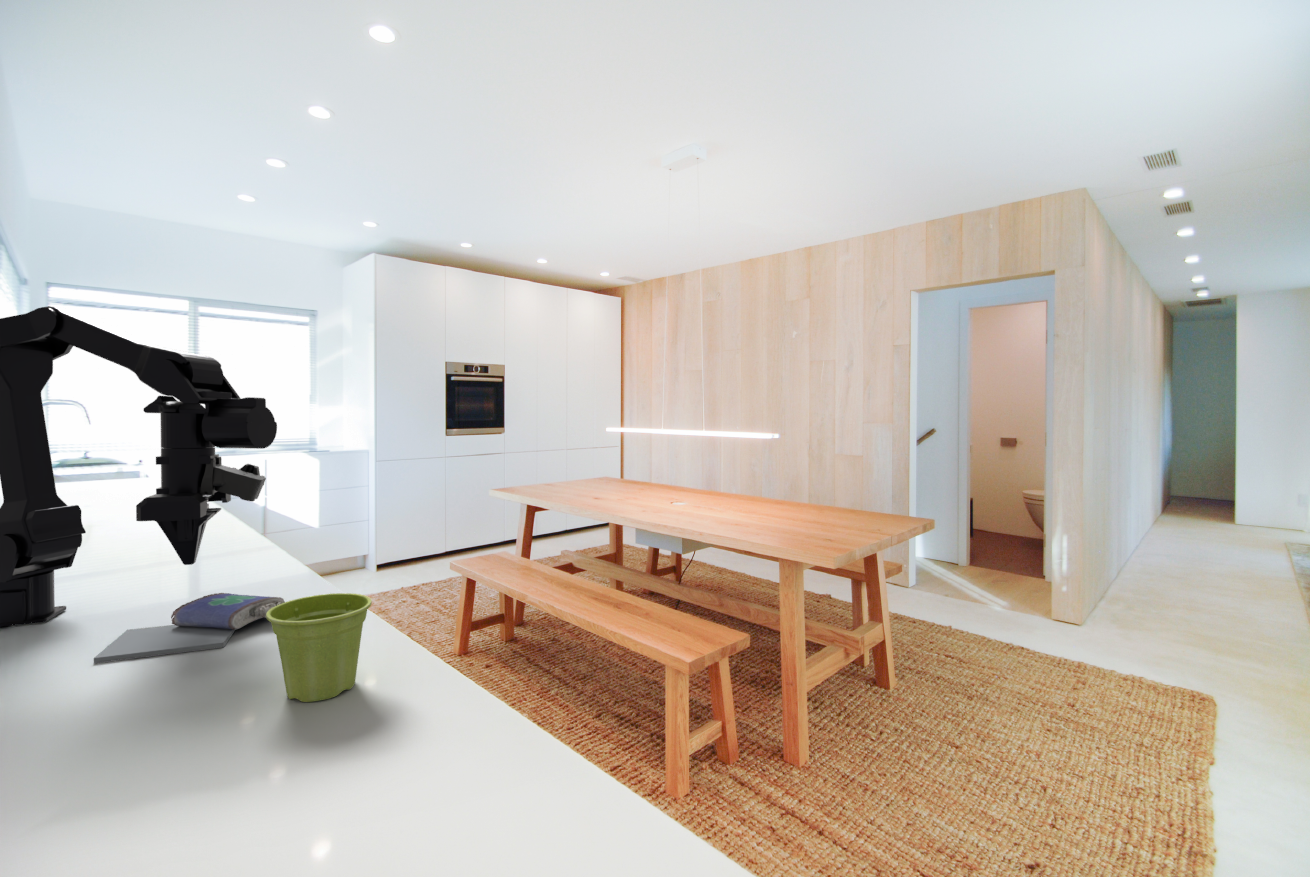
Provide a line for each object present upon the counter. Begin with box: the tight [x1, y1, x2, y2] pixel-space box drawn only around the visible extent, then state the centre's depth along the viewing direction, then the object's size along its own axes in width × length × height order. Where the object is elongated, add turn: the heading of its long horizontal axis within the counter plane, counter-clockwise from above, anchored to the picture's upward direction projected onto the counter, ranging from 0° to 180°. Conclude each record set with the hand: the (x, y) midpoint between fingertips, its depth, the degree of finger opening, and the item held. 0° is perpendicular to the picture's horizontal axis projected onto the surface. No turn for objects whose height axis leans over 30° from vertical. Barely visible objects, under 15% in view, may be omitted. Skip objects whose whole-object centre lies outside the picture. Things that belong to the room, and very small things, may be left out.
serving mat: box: [93, 624, 237, 664], centre depth 74 cm, size 10×12×1 cm
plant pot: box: [265, 592, 372, 703], centre depth 61 cm, size 9×9×9 cm
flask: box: [170, 592, 286, 631], centre depth 80 cm, size 9×3×11 cm
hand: (189, 564), depth 80 cm, fingers closed
